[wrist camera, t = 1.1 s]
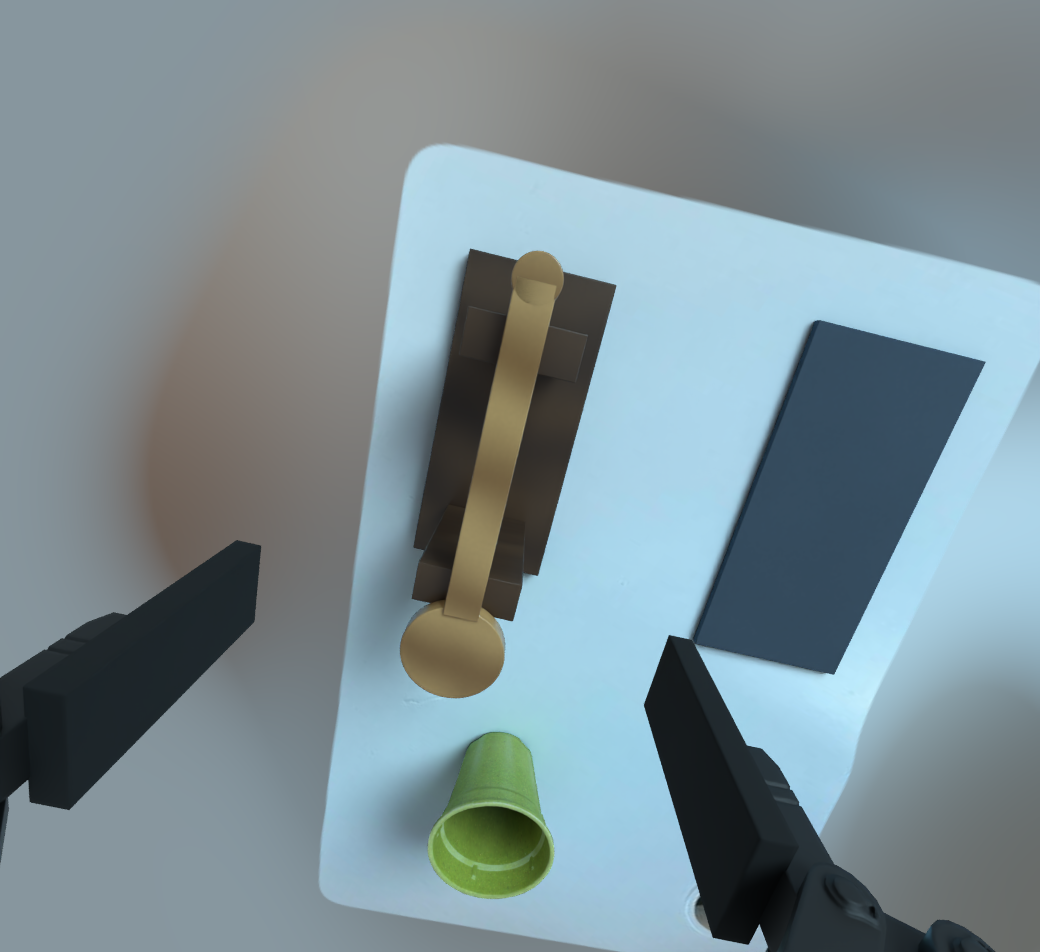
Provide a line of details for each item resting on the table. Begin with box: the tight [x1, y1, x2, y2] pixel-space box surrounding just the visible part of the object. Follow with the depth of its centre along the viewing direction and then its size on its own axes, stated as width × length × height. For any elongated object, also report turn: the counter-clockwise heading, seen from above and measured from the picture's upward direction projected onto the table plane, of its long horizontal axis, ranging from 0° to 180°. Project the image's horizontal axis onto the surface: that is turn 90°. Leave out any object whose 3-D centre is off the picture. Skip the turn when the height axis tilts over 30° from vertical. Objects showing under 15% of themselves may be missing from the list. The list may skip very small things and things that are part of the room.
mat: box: [693, 320, 985, 675], centre depth 37 cm, size 26×12×1 cm, turn 167°
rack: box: [412, 249, 616, 621], centre depth 31 cm, size 22×10×11 cm, turn 167°
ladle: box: [400, 251, 564, 698], centre depth 26 cm, size 25×6×1 cm, turn 167°
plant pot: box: [428, 732, 554, 899], centre depth 41 cm, size 9×9×9 cm
